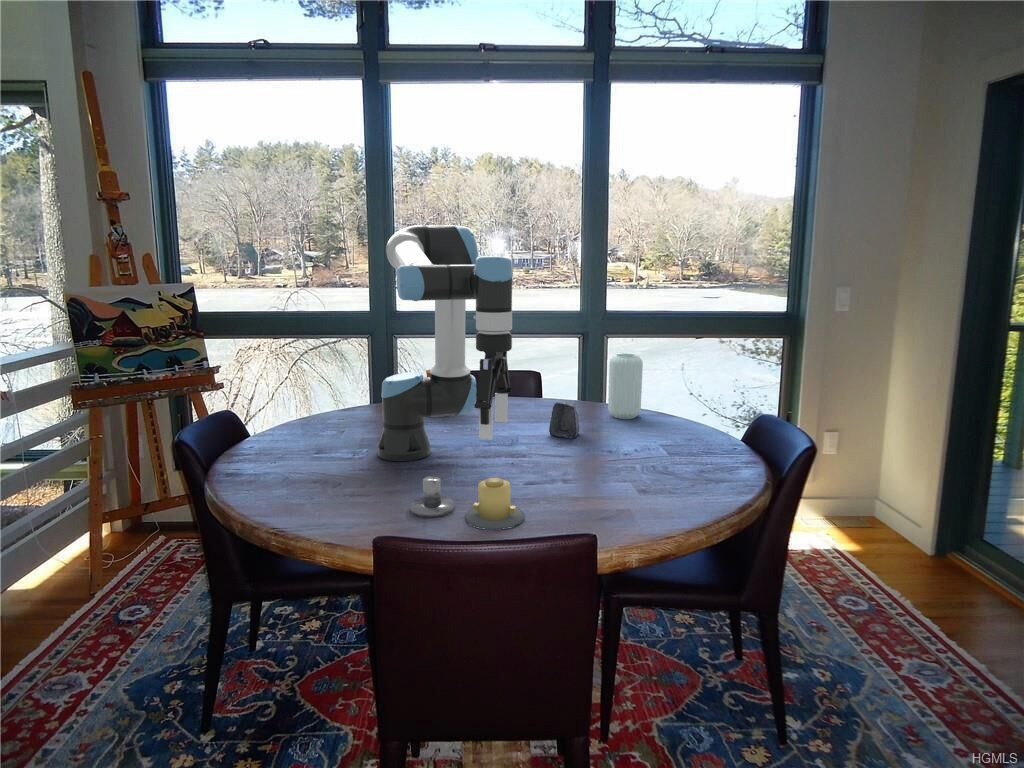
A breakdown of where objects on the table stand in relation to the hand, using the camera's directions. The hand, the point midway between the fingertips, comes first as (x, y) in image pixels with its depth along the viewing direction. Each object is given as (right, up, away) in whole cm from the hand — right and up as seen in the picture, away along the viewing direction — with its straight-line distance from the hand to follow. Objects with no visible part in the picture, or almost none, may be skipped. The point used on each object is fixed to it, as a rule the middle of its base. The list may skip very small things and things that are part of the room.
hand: (494, 429), depth 140 cm
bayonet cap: (0, -19, +4) cm, 19 cm away
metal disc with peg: (-14, -19, +8) cm, 25 cm away
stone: (+21, -7, +70) cm, 73 cm away
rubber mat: (0, -20, +4) cm, 20 cm away
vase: (+44, -2, +93) cm, 103 cm away
